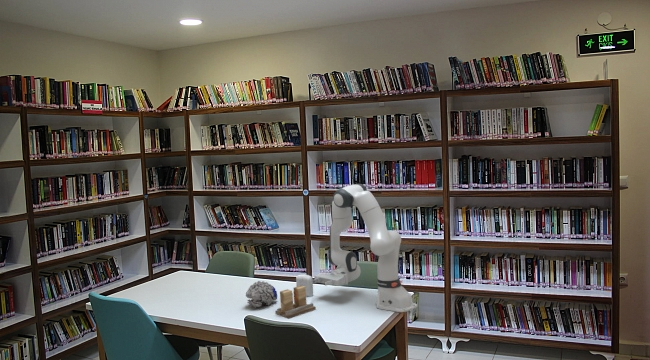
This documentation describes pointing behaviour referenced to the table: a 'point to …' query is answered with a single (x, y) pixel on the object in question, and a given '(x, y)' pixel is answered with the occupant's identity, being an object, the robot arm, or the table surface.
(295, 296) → the wooden block
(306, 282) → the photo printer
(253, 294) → the educational model
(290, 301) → the wooden block stand
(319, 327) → the table surface
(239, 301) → the table surface
